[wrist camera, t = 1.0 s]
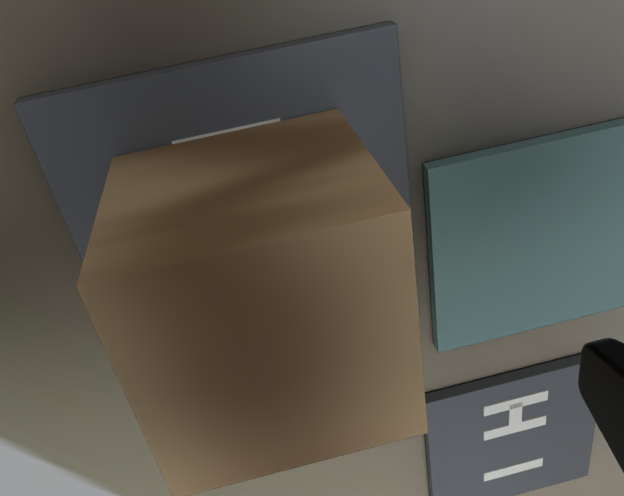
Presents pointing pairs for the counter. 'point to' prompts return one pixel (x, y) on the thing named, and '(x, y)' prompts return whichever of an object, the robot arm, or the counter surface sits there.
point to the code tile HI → (509, 432)
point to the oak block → (258, 300)
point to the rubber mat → (525, 234)
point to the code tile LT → (217, 110)
